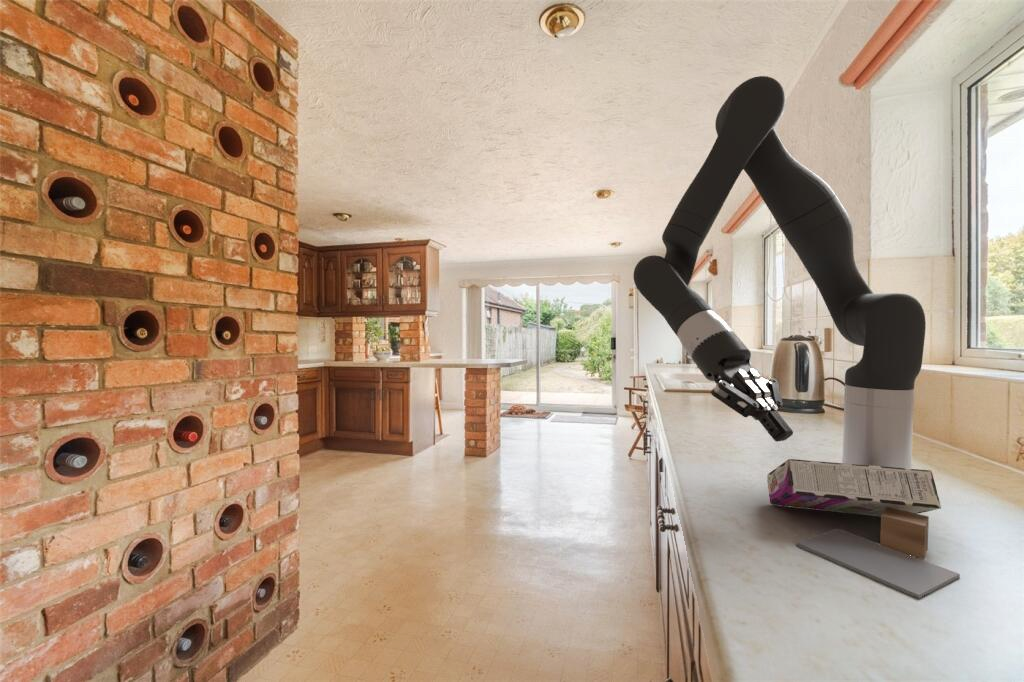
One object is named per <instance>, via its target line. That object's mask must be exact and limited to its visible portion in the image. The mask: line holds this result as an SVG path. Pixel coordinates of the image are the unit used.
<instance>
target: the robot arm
mask: <svg viewBox="0 0 1024 682" xmlns="http://www.w3.org/2000/svg"><path fill="white" fill-rule="evenodd" d="M786 100H787V99H786V92H785V89H784V87H783V86H782V84H781V83H780V81H778V80H777V79H775V78H774V77H770V76H766V75H759V76H754V77H751V78H748V79H747V80H745V81H743V82H742V83H741V84H739V85H738V86H737V87H736V88H735V89H733V90H732V92H731V93H730V94H729V95H728V97H727V99H725V101H724V103H723V104H722V105H721V107H720V109H719V110H718V113H717V114H716V118H715V131H716V135H717V136H716V139H715V141H714V143H713V145H712V147H711V150H710V152H709V153H708V155H707V157H706V159H705V160H704V161H703V164H702V166H701V167H700V168H699V170H698V172H697V173H696V175H695V177H694V178H693V180H692V181H691V183H690V184H689V186H688V187H687V189H686V190H685V192H684V194H683V195H682V196H681V199H680V200H679V203H678V204H677V206H676V207H675V210H674V211H673V214H672V216H671V217H670V219H669V220H668V223H667V225H666V226H665V228H664V230H663V233H662V235H661V239H662V243H663V245H664V246H665V248H666V251H665V255H664V257H663V256H659V255H653V254H652V255H648V256H645V257H643V258H642V259H640V260H639V261H638V262H637V264H636V265H635V267H634V269H633V275H632V276H633V281H634V285H635V287H636V289H637V290H638V292H639V293H640V294H641V295H642V297H644V298H645V299H646V300H647V302H648V303H649V304H650V305H651V306H652V307H653V308H655V310H656V311H658V313H659V314H660V315H661V316H662V317H663V318H664V319H665V322H666V323H667V325H668V326H669V327H670V328H671V331H673V333H674V335H676V336H677V338H678V340H679V341H680V344H681V345H682V347H683V348H684V350H685V352H686V353H687V354H688V356H689V357H690V358H691V359H692V361H693V362H694V364H695V365H696V366H697V368H698V369H699V371H700V373H702V375H703V376H704V378H705V379H706V380H708V381H710V382H715V387H713V388H712V389H711V391H710V395H711V396H713V397H715V399H717V400H718V401H720V402H721V403H723V404H724V405H726V406H727V407H729V408H730V409H732V410H733V411H735V413H737V414H739V415H741V416H742V417H743V418H748V417H751V418H753V420H755V421H759V423H760V424H761V426H762V427H763V428H764V429H765V431H767V433H768V434H769V436H770V437H771V438H772V440H773V441H774V442H784V441H786V440H788V439H789V438H790V437H791V436H793V433H794V432H793V430H792V428H791V427H790V426H789V424H788V423H787V422H786V421H785V419H784V418H783V416H781V414H780V413H779V412H778V410H779V408H781V407H782V406H783V405H784V402H783V398H782V394H781V389H780V385H779V381H778V380H777V379H776V378H774V377H771V378H770V379H769V380H768V379H765V378H764V377H762V376H761V374H760V371H758V369H756V368H754V367H753V366H752V365H751V363H750V362H751V356H752V355H751V354H752V353H751V350H750V349H749V348H748V347H747V345H746V344H745V343H744V342H743V341H742V340H741V339H740V337H739V336H737V333H735V332H734V331H733V329H732V328H731V327H730V326H729V324H728V323H727V322H725V320H724V319H723V318H722V317H720V315H718V314H717V313H716V312H715V311H714V309H712V307H711V306H710V305H709V304H708V302H707V301H706V300H705V299H704V298H703V296H701V295H700V294H699V293H697V292H696V291H694V290H693V289H692V288H691V287H689V284H690V282H691V280H692V277H693V274H694V270H695V268H696V267H695V266H696V264H697V260H698V256H699V255H698V254H699V251H700V248H701V247H702V245H703V244H704V241H705V240H706V238H707V236H708V234H709V232H710V230H711V228H712V226H713V225H714V223H715V221H716V220H717V218H718V215H719V214H720V212H721V210H722V208H723V207H724V204H725V202H726V200H727V198H728V197H729V195H730V193H731V190H732V189H733V188H734V186H735V183H736V181H737V180H738V179H739V177H740V175H741V174H742V171H743V170H744V172H745V173H746V174H747V177H749V179H750V180H751V182H752V183H753V185H754V188H756V190H757V192H758V194H759V196H760V197H761V199H762V201H763V203H764V204H765V205H766V208H768V210H769V212H770V213H771V215H772V218H774V220H775V222H776V223H777V226H778V227H779V229H780V230H781V232H782V234H783V235H784V237H785V238H786V240H787V242H788V243H789V244H790V247H792V249H793V250H794V251H795V253H796V255H797V256H798V257H799V259H800V262H801V263H802V264H803V266H804V268H805V269H806V271H807V272H808V274H809V276H810V277H811V279H812V280H813V282H814V284H815V285H816V287H817V289H818V292H819V293H820V295H821V297H822V299H823V301H824V304H825V306H826V308H827V311H828V312H829V315H830V317H831V318H832V321H833V322H834V323H833V324H834V325H835V327H836V329H837V330H838V332H839V333H840V335H841V336H842V338H844V339H845V340H847V341H848V342H850V343H851V344H853V345H856V346H859V347H860V346H862V347H863V349H862V350H863V351H862V357H861V359H860V360H859V361H858V362H857V363H856V364H855V365H853V366H850V367H848V368H847V369H846V371H845V373H844V374H845V375H844V392H843V393H844V397H843V404H844V405H843V409H844V410H843V430H842V431H843V432H842V457H841V459H842V460H841V461H842V462H841V463H844V464H855V465H868V466H883V467H895V468H906V469H912V461H913V459H912V458H913V454H912V453H913V436H914V435H913V433H914V431H913V430H914V402H915V401H914V399H915V398H914V397H915V382H916V378H917V377H918V376H919V374H920V372H921V369H922V366H923V365H922V364H923V356H924V347H925V340H926V339H925V338H926V316H925V315H926V314H925V312H924V311H925V310H924V309H923V306H922V304H921V302H919V300H918V299H916V298H915V297H914V296H912V295H911V294H908V293H904V292H899V291H898V292H897V291H896V292H895V291H894V292H893V291H892V292H882V293H874V292H873V291H872V289H871V288H870V287H869V285H868V284H867V282H866V280H864V278H863V276H862V275H861V273H860V272H859V269H858V267H857V265H856V261H855V255H854V229H853V225H852V220H851V218H850V216H849V214H848V212H847V211H846V209H845V207H844V206H843V204H842V203H841V201H840V199H839V198H838V196H837V195H836V193H835V192H834V190H833V189H832V187H831V186H830V185H829V184H828V183H827V182H826V181H825V180H824V179H823V178H821V177H820V176H819V175H818V174H817V173H815V172H814V171H812V170H811V169H809V168H808V167H806V166H805V165H803V164H802V163H800V162H799V160H797V159H795V158H794V156H792V155H791V154H790V152H789V151H788V150H787V149H786V147H785V145H784V144H783V142H782V140H781V139H780V137H779V135H778V133H777V131H776V129H775V127H776V126H777V124H778V123H779V122H780V120H781V119H782V116H783V114H784V111H785V107H786Z"/></svg>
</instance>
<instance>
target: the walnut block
mask: <svg viewBox="0 0 1024 682" xmlns="http://www.w3.org/2000/svg"><path fill="white" fill-rule="evenodd" d="M929 520H930V518H929V516H928V515H923V514H921V513H918V514H915V513H911V512H907V511H902V510H898V509H894V508H890V507H886V508H885V510H884V512H883V513H882V515H881V516H880V538H879V539H880V541H879V542H880V543H879V544H881V545H883V546H886V547H889V548H891V549H894V550H897V551H899V552H902V553H905V554H907V555H911V556H915V557H916V558H917V557H918V559H920V558H922V559H921V560H925V558H926V555H927V552H928V549H927V548H928V547H929V546H928V545H929ZM926 551H927V552H926Z"/></svg>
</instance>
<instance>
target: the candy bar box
mask: <svg viewBox="0 0 1024 682" xmlns="http://www.w3.org/2000/svg"><path fill="white" fill-rule="evenodd" d="M766 477H767V478H766V479H767V488H768V499H769V504H770V505H771V504H772V505H771V506H780V505H782V506H783V507H789V506H791V508H798V507H799V508H800V509H801V508H802V509H808V508H809V509H811V510H817V509H818V510H819V511H827V512H829V511H830V512H837V513H846V514H856V515H865V516H873V517H874V516H875V517H881V515H882V513H883V512H884V510H885V508H886V507H890V508H894V509H898V510H902V511H907V512H911V513H915V514H923V513H928V512H931V511H936V510H939V509H942V505H941V501H940V497H939V495H938V491H937V486H936V482H935V478H934V475H933V472H932V470H930V469H929V470H928V469H920V468H918V469H916V468H911V469H906V468H895V467H883V466H868V465H855V464H844V463H842V462H828V461H817V460H806V459H794V458H793V459H792V458H789V459H788V458H787V460H785V461H784V462H783V463H782V464H780V465H778V466H777V467H776V468H774V469H773V470H772V471H770V472H768V474H767V475H766ZM818 510H817V511H818Z"/></svg>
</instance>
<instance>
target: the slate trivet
mask: <svg viewBox="0 0 1024 682" xmlns="http://www.w3.org/2000/svg"><path fill="white" fill-rule="evenodd" d="M795 543H796V546H797V547H799V548H801V549H804V550H805V551H808V552H811V553H813V554H815V555H818V556H819V557H821V558H824V559H826V560H828V561H831V562H833V563H835V564H838V565H840V566H842V567H845V568H847V569H850V570H852V571H853V572H856V573H859V574H862V575H863V576H866V577H868V578H869V579H870V578H871V579H872V580H874V581H877V582H879V583H882V584H884V585H886V586H888V587H891V588H893V589H895V590H898V591H900V592H902V593H904V594H907V595H909V596H911V595H912V596H911V597H913V596H915V597H914V598H916V597H917V598H916V599H918V598H919V599H921V598H923V597H925V596H927V595H929V594H931V593H933V592H935V591H936V589H937V590H938V588H939V589H941V588H943V587H944V586H946V585H948V584H950V583H952V582H954V581H956V580H958V579H960V573H958V572H955V571H953V570H950V569H947V568H944V567H942V566H939V565H937V564H935V563H932V562H929V561H926V560H925V559H920V558H917V557H913V556H910V555H907V554H905V553H902V552H899V551H897V550H894V549H891V548H889V547H886V546H883V545H881V544H880V543H878V542H875V541H872V540H869V539H867V538H864V537H861V536H858V535H856V534H853V533H851V532H848V531H845V530H843V529H840V528H836V529H833V530H829V531H827V532H825V533H821V534H818V535H814V536H811V537H808V538H804V539H803V540H802V539H801V540H800V541H796V542H795ZM940 587H941V588H940ZM934 590H935V591H934ZM932 591H933V592H932ZM930 592H931V593H930ZM928 593H929V594H928ZM926 594H927V595H926ZM924 595H925V596H924ZM922 596H923V597H922ZM920 597H921V598H920Z"/></svg>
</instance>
